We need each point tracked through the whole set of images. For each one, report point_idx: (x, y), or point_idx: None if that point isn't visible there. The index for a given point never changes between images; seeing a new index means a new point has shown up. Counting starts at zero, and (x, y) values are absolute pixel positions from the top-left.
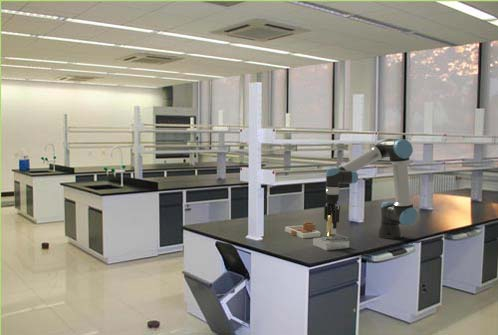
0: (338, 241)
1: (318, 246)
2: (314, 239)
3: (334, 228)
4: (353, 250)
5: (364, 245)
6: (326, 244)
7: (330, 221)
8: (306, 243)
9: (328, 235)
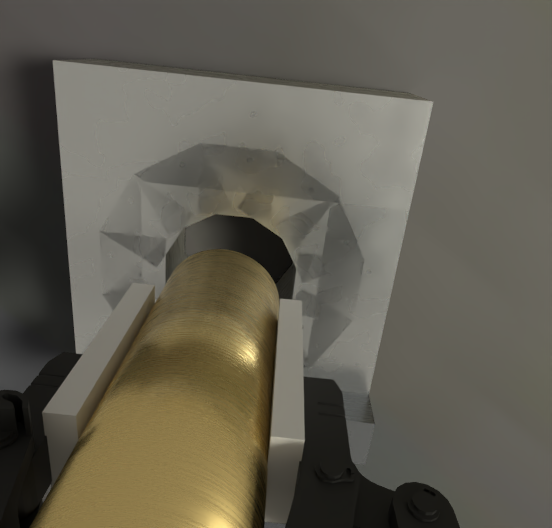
0: (105, 292)
1: (277, 79)
2: (392, 96)
3: (60, 358)
4: (3, 327)
5: None
6: (60, 60)
7: (94, 429)
8: (523, 60)
9: (209, 252)
